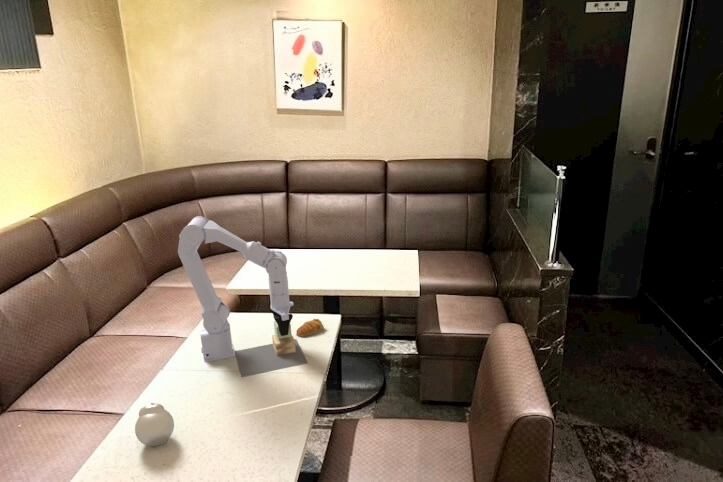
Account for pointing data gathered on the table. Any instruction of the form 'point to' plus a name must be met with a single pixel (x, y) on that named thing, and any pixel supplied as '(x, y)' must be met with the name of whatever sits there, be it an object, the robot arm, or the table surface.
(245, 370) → the mat
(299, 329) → the pastry
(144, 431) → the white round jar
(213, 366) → the table surface
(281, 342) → the tower top slab
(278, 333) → the green block
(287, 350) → the tower base slab
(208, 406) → the table surface
